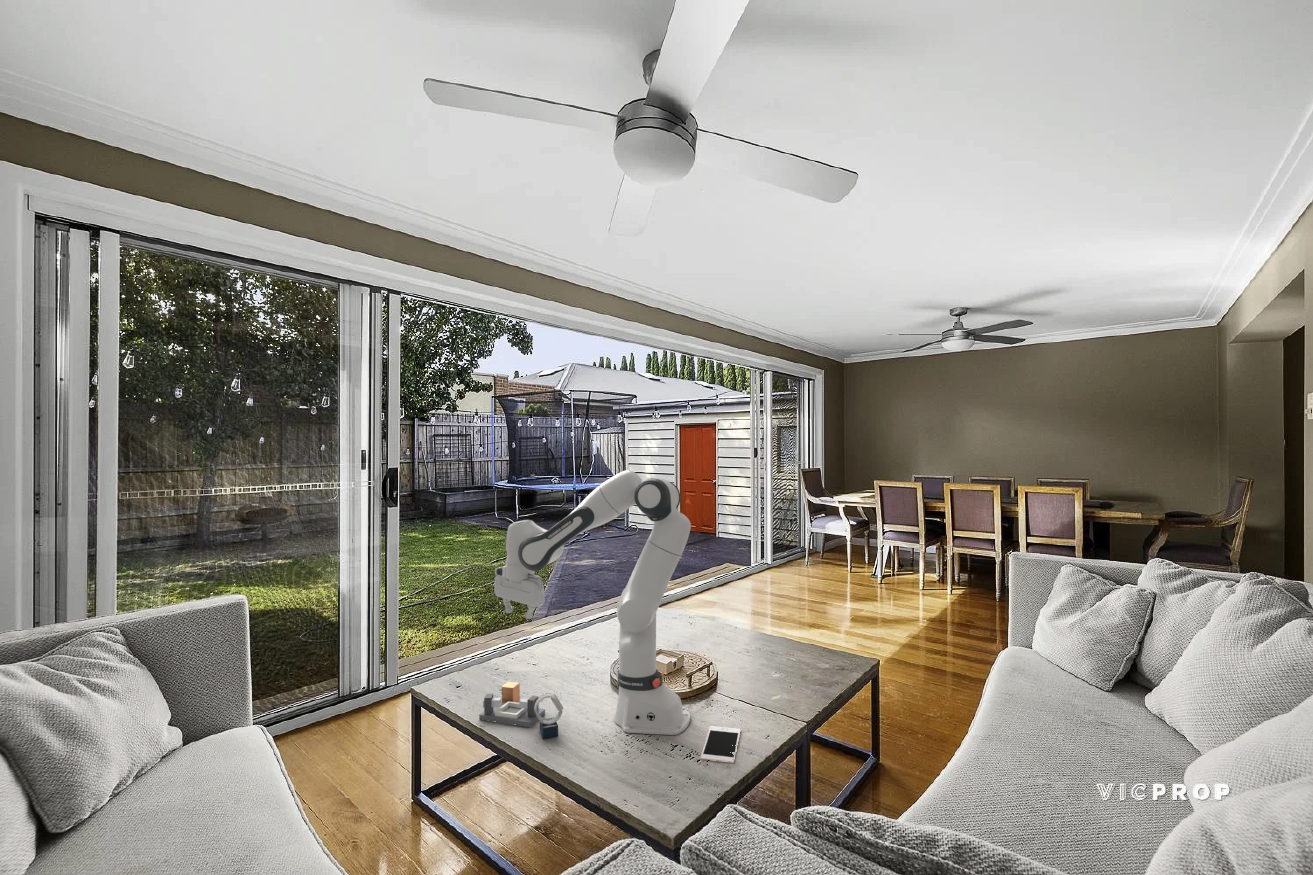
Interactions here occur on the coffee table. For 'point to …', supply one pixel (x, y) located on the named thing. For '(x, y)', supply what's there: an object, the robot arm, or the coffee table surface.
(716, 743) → the cell phone
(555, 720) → the watch
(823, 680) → the coffee table surface
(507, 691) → the block
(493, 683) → the coffee table surface
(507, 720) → the stand
